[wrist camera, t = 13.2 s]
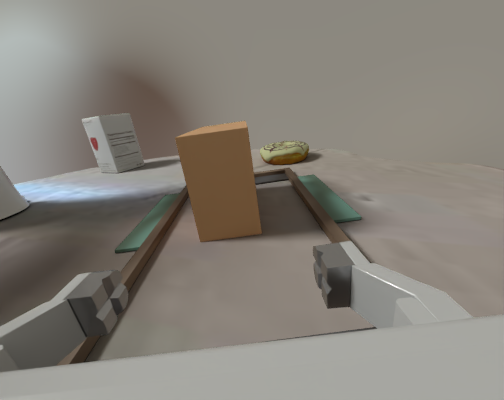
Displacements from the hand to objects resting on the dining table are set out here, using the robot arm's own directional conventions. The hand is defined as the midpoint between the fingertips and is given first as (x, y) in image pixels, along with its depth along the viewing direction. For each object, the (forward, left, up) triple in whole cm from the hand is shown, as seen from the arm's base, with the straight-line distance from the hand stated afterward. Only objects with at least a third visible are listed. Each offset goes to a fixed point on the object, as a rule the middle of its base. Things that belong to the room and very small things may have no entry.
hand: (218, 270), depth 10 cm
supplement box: (-35, +61, -5) cm, 71 cm away
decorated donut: (+10, +43, -6) cm, 45 cm away
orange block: (-1, +19, -5) cm, 19 cm away
